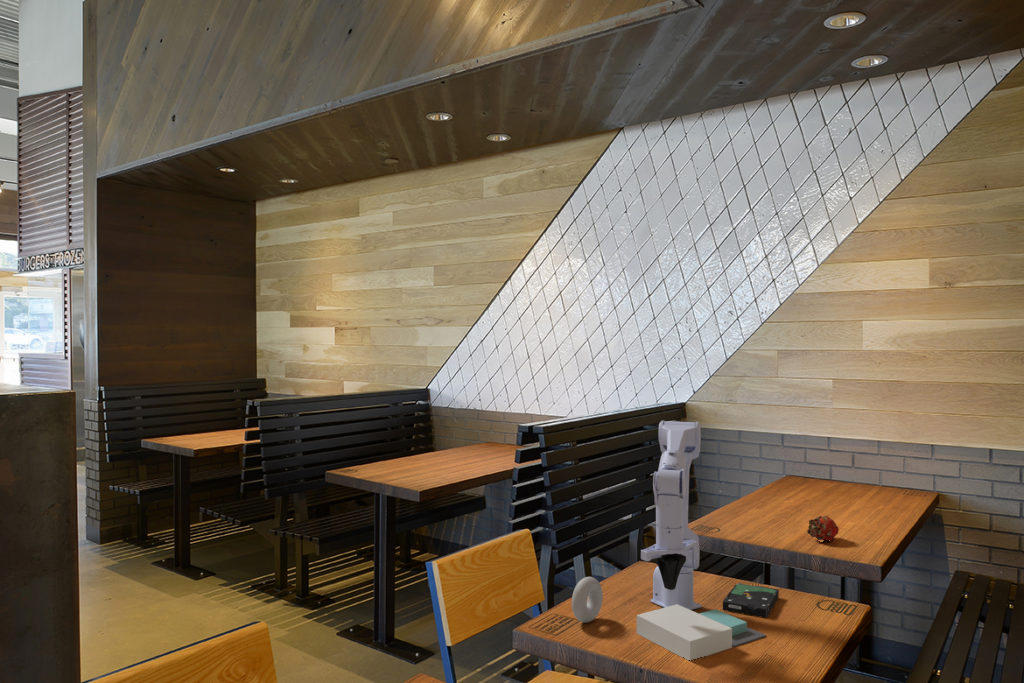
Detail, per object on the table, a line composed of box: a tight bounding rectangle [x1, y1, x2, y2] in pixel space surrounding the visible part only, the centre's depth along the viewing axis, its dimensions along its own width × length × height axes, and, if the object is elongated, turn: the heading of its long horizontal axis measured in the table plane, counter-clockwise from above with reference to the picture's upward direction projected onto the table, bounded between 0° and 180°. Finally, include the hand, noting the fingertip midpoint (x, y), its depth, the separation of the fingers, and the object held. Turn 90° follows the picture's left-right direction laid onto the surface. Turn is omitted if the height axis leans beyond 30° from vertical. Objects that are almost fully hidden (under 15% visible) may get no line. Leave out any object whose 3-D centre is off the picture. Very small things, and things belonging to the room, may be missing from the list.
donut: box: [571, 576, 604, 623], centre depth 167 cm, size 10×4×10 cm, turn 141°
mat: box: [732, 626, 767, 648], centre depth 162 cm, size 16×10×1 cm, turn 31°
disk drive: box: [722, 582, 780, 618], centre depth 177 cm, size 10×3×15 cm
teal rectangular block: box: [699, 608, 748, 636], centre depth 162 cm, size 9×6×2 cm, turn 31°
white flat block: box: [636, 604, 733, 662], centre depth 156 cm, size 16×12×4 cm
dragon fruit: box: [806, 515, 839, 542], centre depth 230 cm, size 8×8×12 cm
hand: (669, 588), depth 158 cm, fingers closed
